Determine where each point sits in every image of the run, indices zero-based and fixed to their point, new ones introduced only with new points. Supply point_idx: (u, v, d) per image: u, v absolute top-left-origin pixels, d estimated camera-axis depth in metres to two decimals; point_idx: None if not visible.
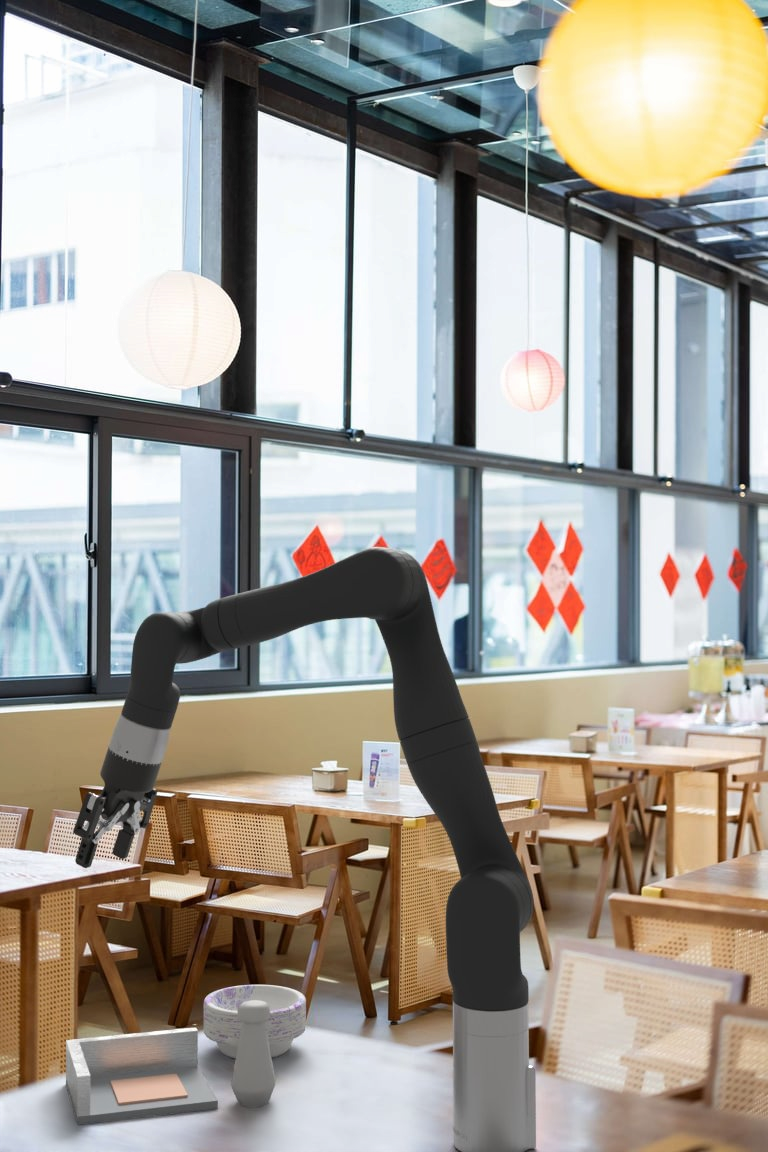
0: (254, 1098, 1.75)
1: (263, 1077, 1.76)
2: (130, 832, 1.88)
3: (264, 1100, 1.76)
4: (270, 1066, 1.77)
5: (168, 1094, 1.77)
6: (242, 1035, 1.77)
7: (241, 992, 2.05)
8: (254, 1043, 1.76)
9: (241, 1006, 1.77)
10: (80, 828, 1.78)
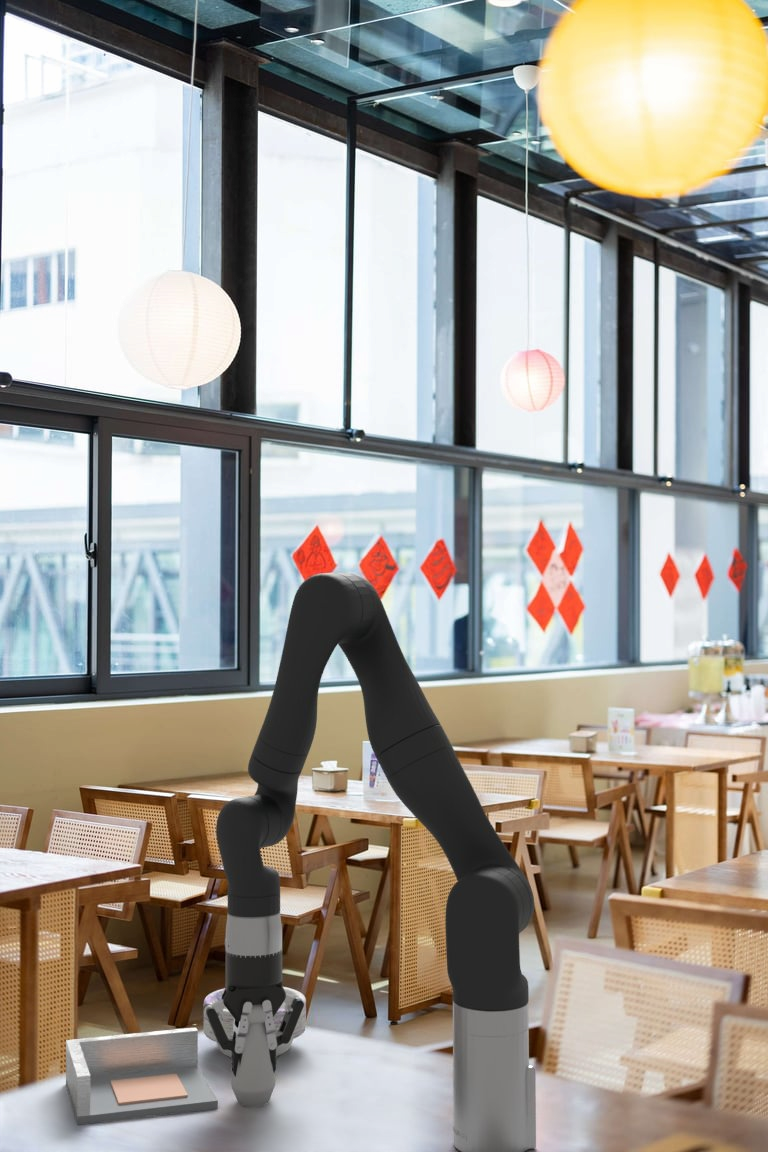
0: (254, 1098, 1.75)
1: (263, 1077, 1.76)
2: None
3: (264, 1100, 1.76)
4: (270, 1066, 1.77)
5: (168, 1094, 1.77)
6: None
7: None
8: (254, 1043, 1.76)
9: None
10: None
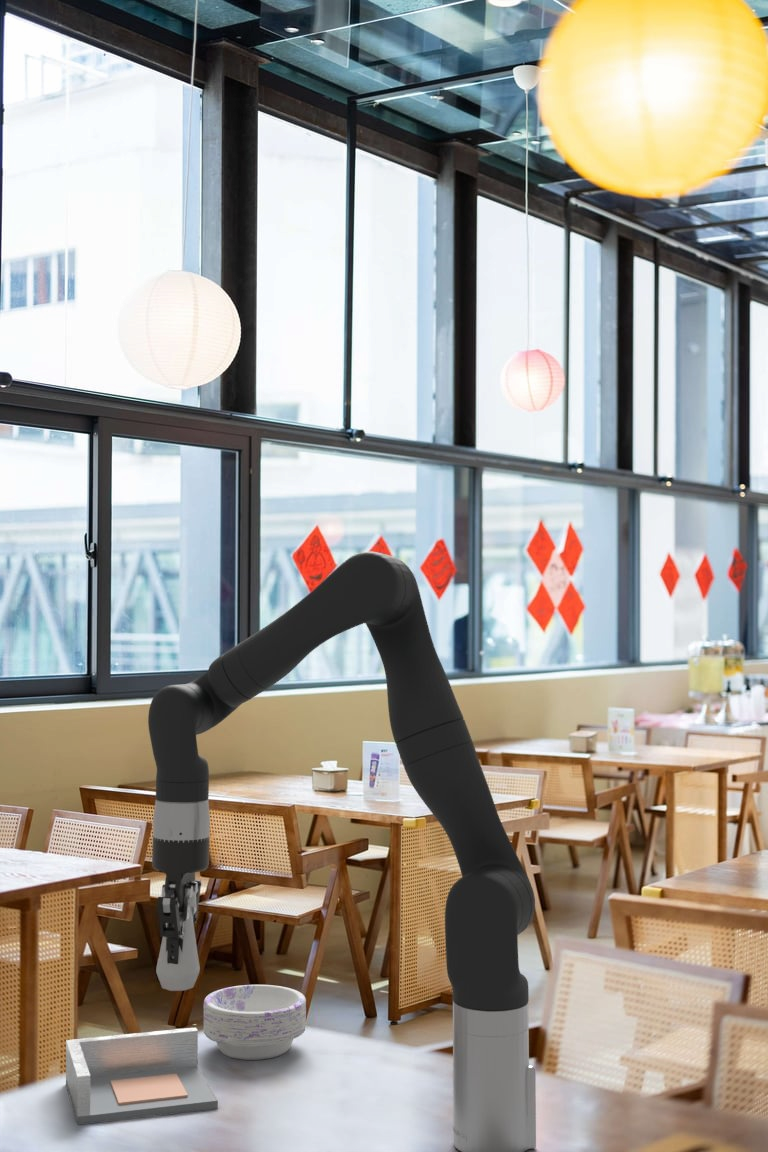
0: (194, 979, 1.78)
1: None
2: None
3: None
4: None
5: (168, 1094, 1.77)
6: None
7: (241, 992, 2.05)
8: (191, 926, 1.78)
9: None
10: (166, 928, 1.75)
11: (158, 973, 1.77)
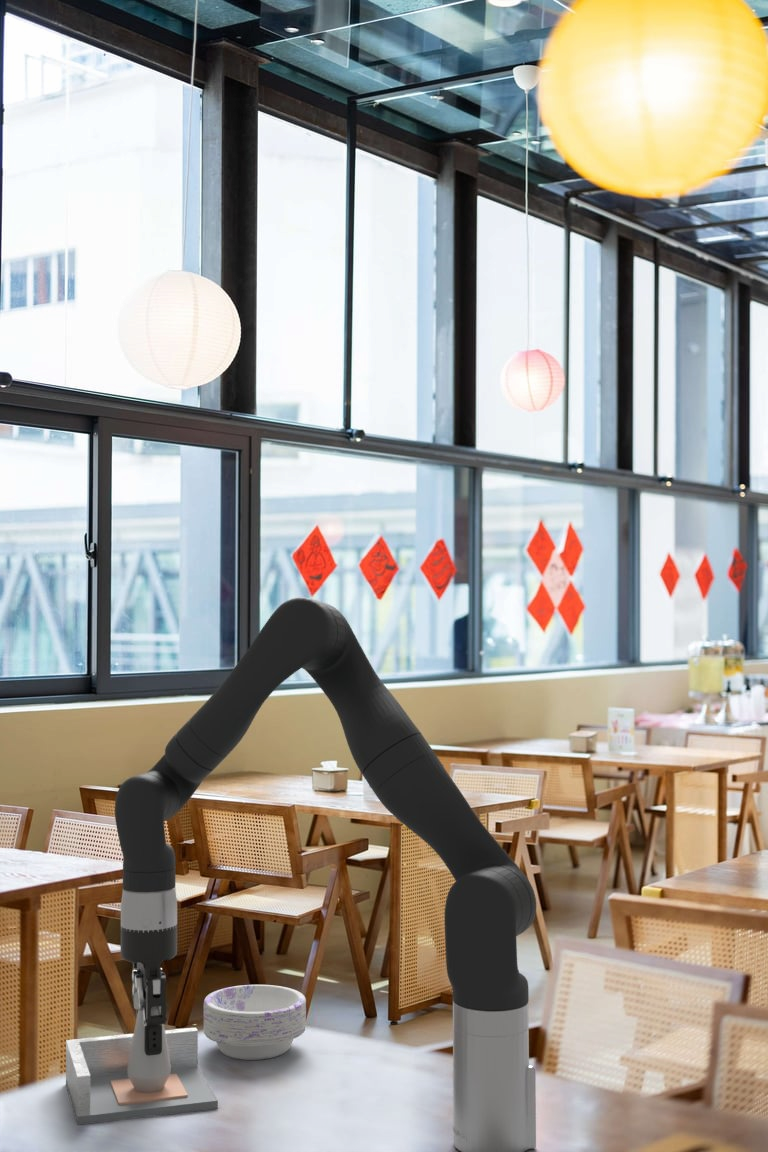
0: None
1: None
2: None
3: None
4: None
5: (168, 1094, 1.77)
6: None
7: (241, 992, 2.05)
8: (163, 1025, 1.80)
9: None
10: (152, 1017, 1.73)
11: (135, 1078, 1.77)
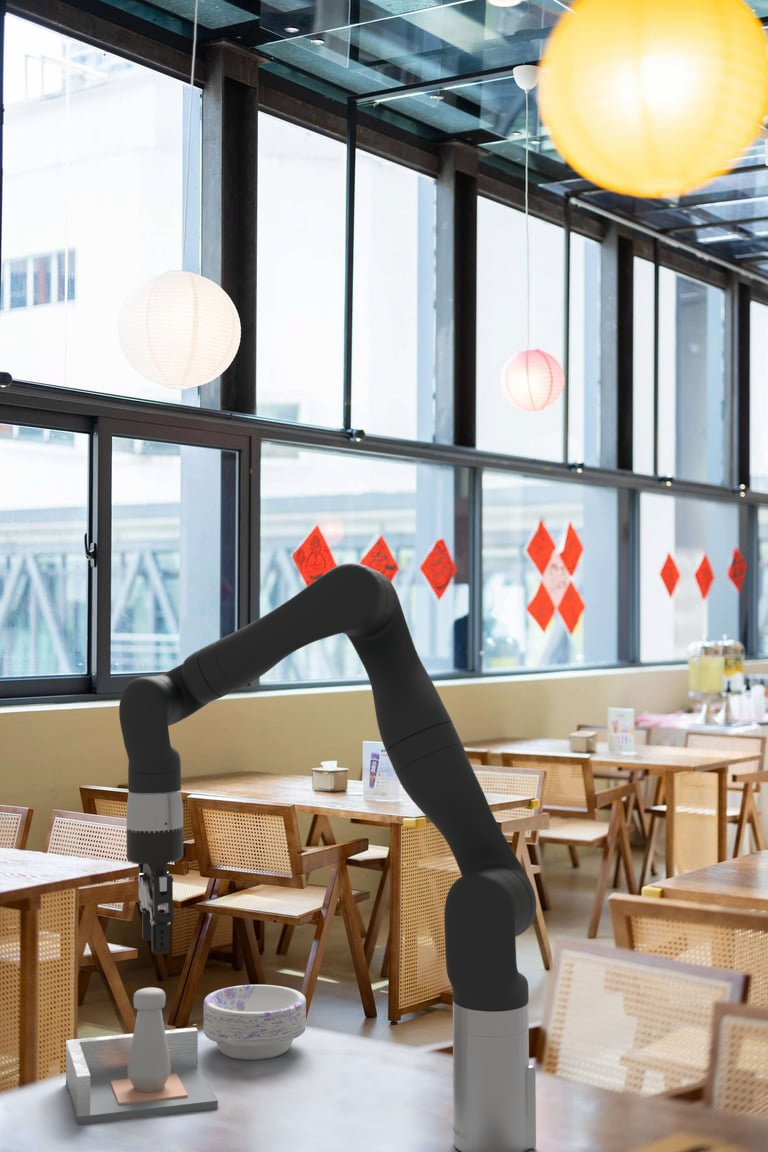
0: None
1: None
2: None
3: None
4: None
5: (168, 1094, 1.77)
6: (154, 1023, 1.78)
7: (241, 992, 2.05)
8: (163, 1025, 1.80)
9: (153, 995, 1.78)
10: (159, 914, 1.73)
11: (135, 1078, 1.77)
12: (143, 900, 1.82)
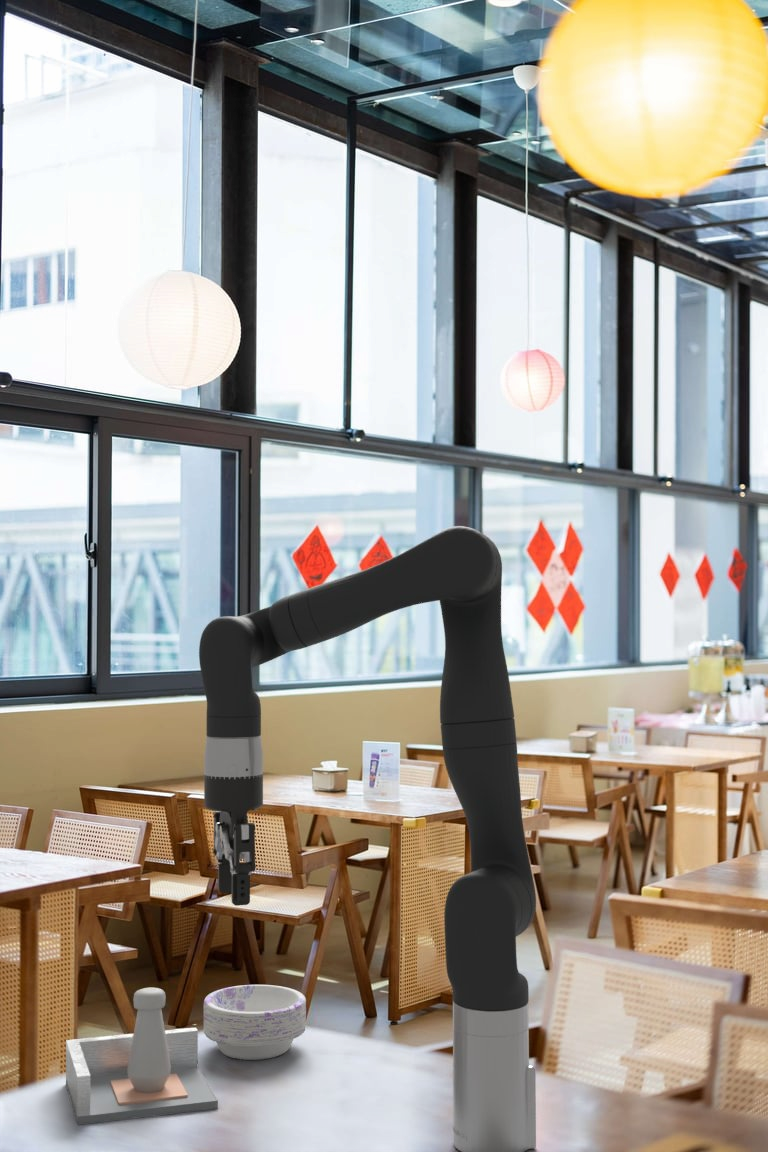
0: None
1: None
2: None
3: None
4: None
5: (168, 1094, 1.77)
6: (154, 1023, 1.78)
7: (241, 992, 2.05)
8: (163, 1025, 1.80)
9: (153, 995, 1.78)
10: (241, 863, 1.65)
11: (135, 1078, 1.77)
12: (220, 850, 1.75)
